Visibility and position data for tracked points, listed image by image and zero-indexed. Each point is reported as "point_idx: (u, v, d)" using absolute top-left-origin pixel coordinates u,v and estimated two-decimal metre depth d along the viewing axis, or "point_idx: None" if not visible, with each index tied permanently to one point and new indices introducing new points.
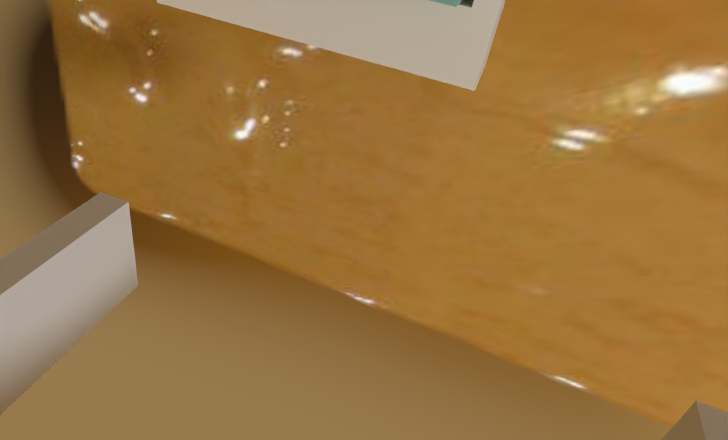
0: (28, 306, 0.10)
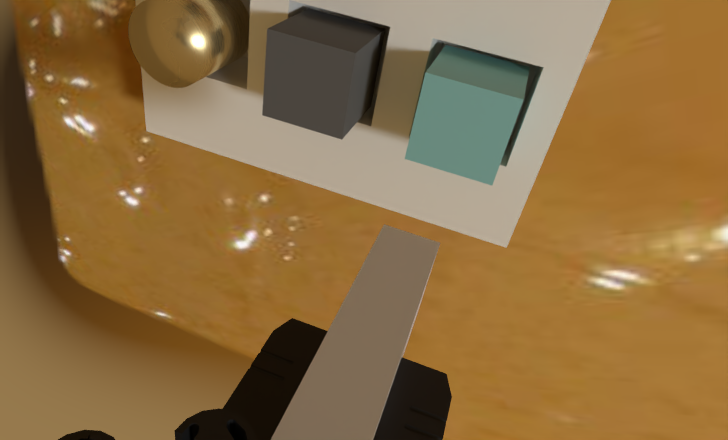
0: None
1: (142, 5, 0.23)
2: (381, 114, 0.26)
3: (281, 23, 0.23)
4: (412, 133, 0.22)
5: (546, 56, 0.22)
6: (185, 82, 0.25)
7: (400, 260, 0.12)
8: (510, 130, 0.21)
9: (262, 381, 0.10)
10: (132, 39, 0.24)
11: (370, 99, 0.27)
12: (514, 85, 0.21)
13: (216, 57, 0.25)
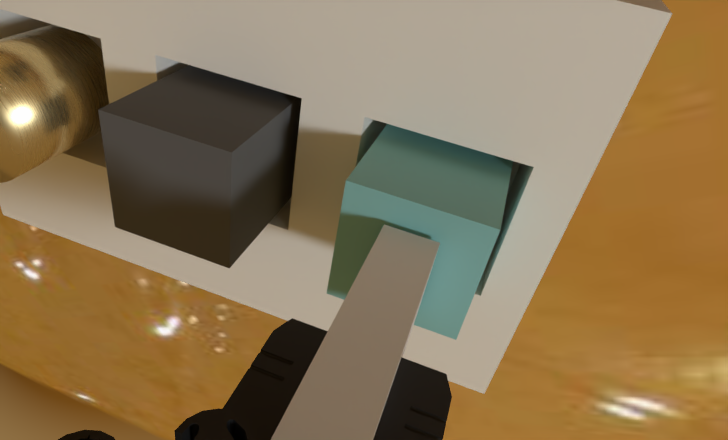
0: None
1: None
2: (300, 215, 0.18)
3: (130, 96, 0.15)
4: (334, 261, 0.15)
5: (537, 151, 0.14)
6: (4, 176, 0.17)
7: (400, 260, 0.12)
8: (480, 270, 0.13)
9: (262, 381, 0.10)
10: None
11: (288, 190, 0.19)
12: (487, 196, 0.14)
13: (51, 139, 0.17)
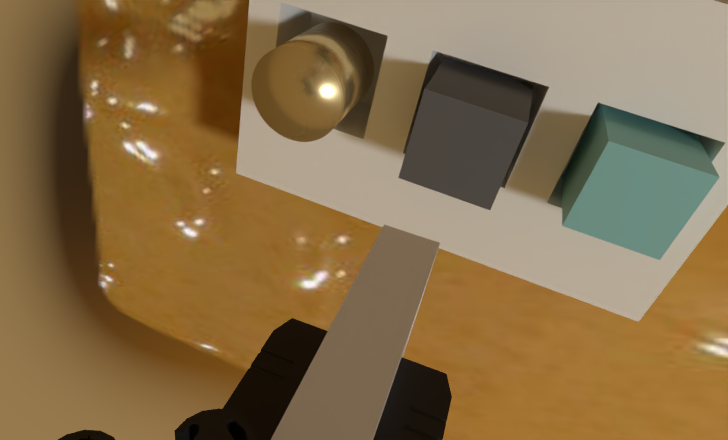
0: None
1: (274, 52, 0.21)
2: (519, 176, 0.24)
3: (433, 80, 0.20)
4: (577, 201, 0.21)
5: None
6: (311, 137, 0.22)
7: (400, 260, 0.12)
8: (695, 206, 0.19)
9: (262, 381, 0.10)
10: (255, 87, 0.22)
11: None
12: (697, 156, 0.20)
13: (347, 110, 0.22)
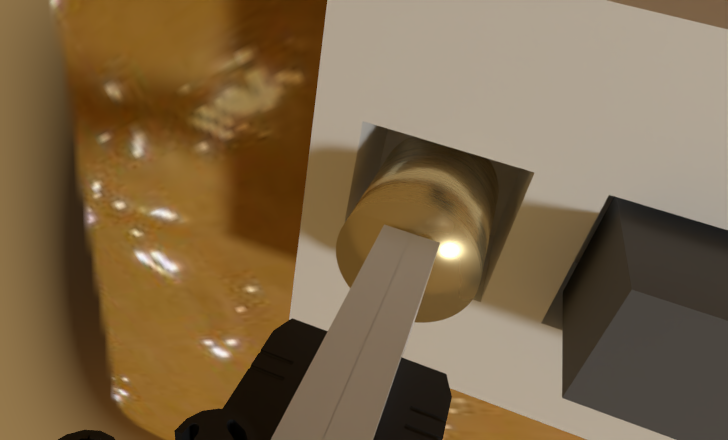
0: None
1: (376, 207, 0.13)
2: None
3: (632, 261, 0.12)
4: None
5: None
6: (425, 317, 0.15)
7: (400, 260, 0.12)
8: None
9: (262, 381, 0.10)
10: (342, 249, 0.14)
11: None
12: None
13: None
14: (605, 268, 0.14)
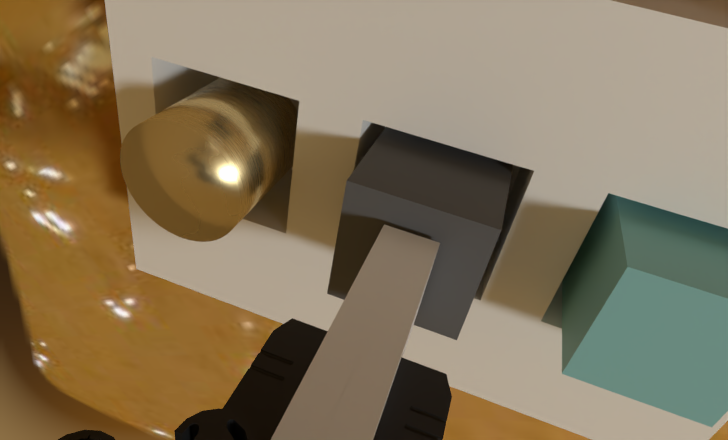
0: None
1: (142, 127, 0.15)
2: (499, 286, 0.17)
3: (364, 162, 0.14)
4: (583, 344, 0.14)
5: None
6: (208, 236, 0.16)
7: (400, 260, 0.12)
8: None
9: (262, 381, 0.10)
10: (126, 172, 0.16)
11: None
12: None
13: (257, 197, 0.16)
14: None
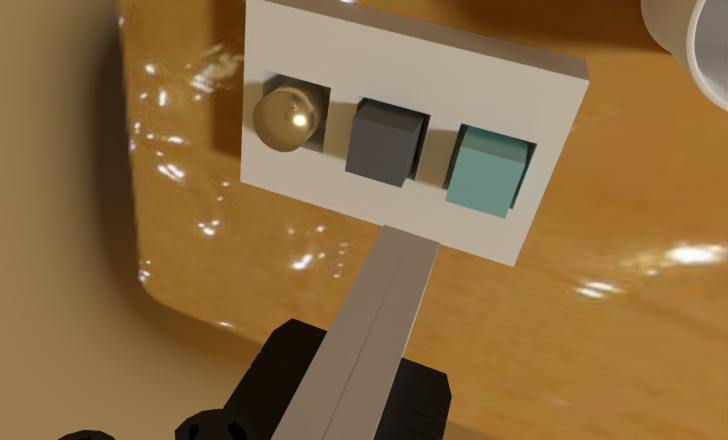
0: None
1: (265, 99, 0.34)
2: (422, 172, 0.36)
3: (360, 111, 0.34)
4: (450, 184, 0.33)
5: (539, 136, 0.33)
6: (290, 149, 0.36)
7: (400, 260, 0.12)
8: (517, 183, 0.32)
9: (262, 381, 0.10)
10: (254, 120, 0.35)
11: (415, 156, 0.38)
12: (518, 153, 0.32)
13: (311, 131, 0.36)
14: None
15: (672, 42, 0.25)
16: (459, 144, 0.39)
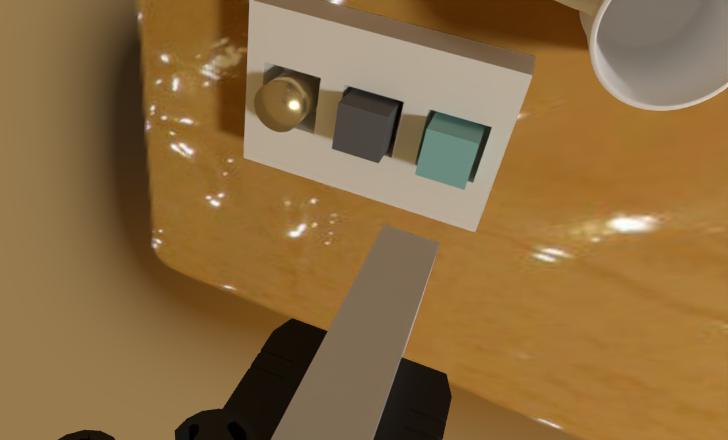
0: None
1: (265, 87, 0.41)
2: (397, 150, 0.43)
3: (345, 98, 0.40)
4: (419, 160, 0.40)
5: (493, 121, 0.39)
6: (286, 129, 0.42)
7: (400, 260, 0.12)
8: (473, 160, 0.39)
9: (262, 381, 0.10)
10: (256, 104, 0.42)
11: (393, 137, 0.44)
12: (475, 134, 0.39)
13: (304, 114, 0.42)
14: None
15: None
16: None
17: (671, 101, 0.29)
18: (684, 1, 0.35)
